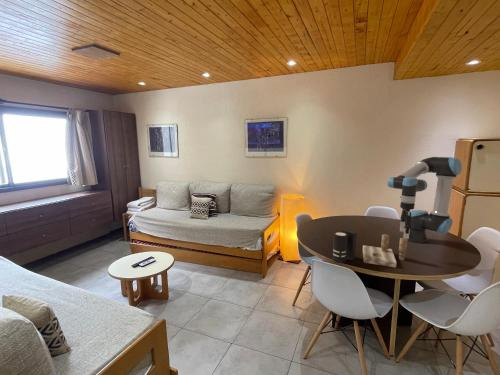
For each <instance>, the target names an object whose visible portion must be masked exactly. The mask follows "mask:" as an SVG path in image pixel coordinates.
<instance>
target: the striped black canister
mask: <svg viewBox="0 0 500 375" xmlns="http://www.w3.org/2000/svg"><path fill="white" fill-rule="evenodd" d="M332 246H333V247H332V261H333V262H335V263H339V264H345V263H346V261H347V259H349V260H351V261H353V260H355V258H356V246H357V232H355V231H352V230H348V229H345V228H343V229H341V231H335V232H333V245H332Z"/></svg>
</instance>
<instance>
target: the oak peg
mask: <svg viewBox="0 0 500 375" xmlns="http://www.w3.org/2000/svg"><path fill="white" fill-rule="evenodd" d="M408 242H409V240H408V239H406V238H403V237H399V246H398V252H399V253H398V260H399V261H405V258H406V254H407V249H408V248H407V247H408Z"/></svg>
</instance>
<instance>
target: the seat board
mask: <svg viewBox="0 0 500 375" xmlns="http://www.w3.org/2000/svg"><path fill="white" fill-rule="evenodd" d="M389 241H390V235H389V234H386V233H383V234H381V242H380V243H381V245H380V247H377V246H373V245H372V246H371V245H362V257H363V258H362V260H363V263H365V264H372V265H379V266H384V267H389V268H390V267H391V268H397V260H396V257H395V255H394V252H393V249H392V248H389V245H390V244H389Z"/></svg>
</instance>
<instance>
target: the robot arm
mask: <svg viewBox="0 0 500 375" xmlns="http://www.w3.org/2000/svg"><path fill="white" fill-rule="evenodd" d="M462 170H463V169H462V162H461V160H460V159H459V158H458V157H452V156H448V157H447V156H445V157H444V156H431V157H427V158H424V159H422V160H419V161H417V162H416V163H415V164H414V166H412V167H411V168H409V169H407V170H405V171H404V172H402V173H401V174H399V175H398V176H396V177H395V176H390V177H389V178H388V179H387V186H388V188H391V189H396V190H401V196H400V204H399V208H401V209H402V210H401V215H400V224H399V225H400V226H399V232H402V233H403V237H402V238H406V239H408V242H412V243H418V244H426V243H428V236H427V230H428V231H432V232H436V233H440V234H447V233H449V232H450V230H451V228H452V226H453V219H452V218H451V215H450V213H449V208H450V201H451V193H452V189H453V184H454V182H453V181H454V180H455V179H456V178H457V175H460V174H461V173H462ZM428 173H430V174H431V173H433V174H435V176H436V178H437V183H436V188H435V196H434V203H433V207H432V208H433V209H432V211H430V212H429V211H428V210H422V209H421V210H418V209H416V210H414V209H415V202H416V197H417V196H416V194H417V192H422V191H425V190H426V189H427V188H428V183H427V181H426V180H424V179H419V178H418V177H420V176H422V175H425V174H428Z"/></svg>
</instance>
